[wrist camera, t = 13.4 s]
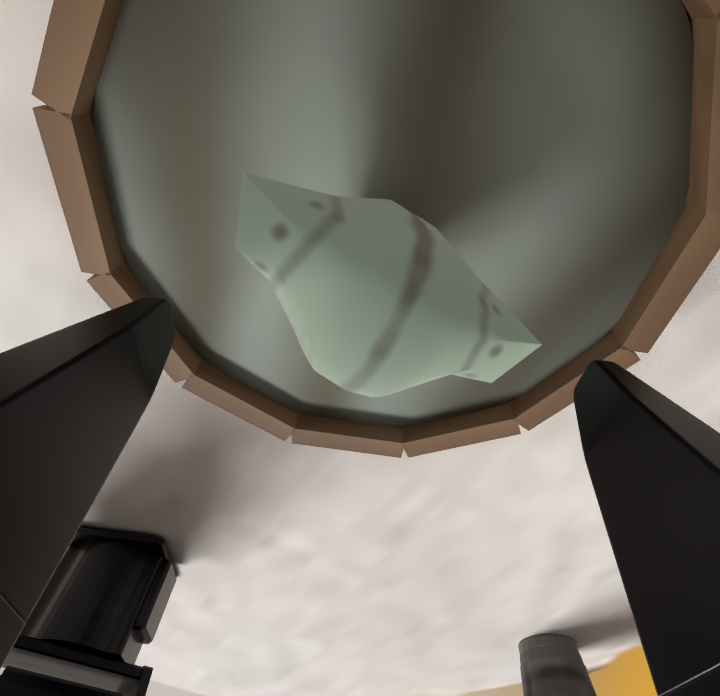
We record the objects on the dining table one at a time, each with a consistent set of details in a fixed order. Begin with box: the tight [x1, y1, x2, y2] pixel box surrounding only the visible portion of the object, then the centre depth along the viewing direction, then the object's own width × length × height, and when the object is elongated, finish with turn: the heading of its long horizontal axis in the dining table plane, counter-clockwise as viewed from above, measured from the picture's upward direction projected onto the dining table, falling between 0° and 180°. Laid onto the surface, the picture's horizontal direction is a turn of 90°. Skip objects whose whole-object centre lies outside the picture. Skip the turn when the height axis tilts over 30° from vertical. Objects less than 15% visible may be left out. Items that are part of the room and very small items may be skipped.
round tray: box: [32, 0, 720, 458], centre depth 14 cm, size 20×20×2 cm
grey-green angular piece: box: [235, 172, 542, 397], centre depth 11 cm, size 8×4×7 cm, turn 60°
